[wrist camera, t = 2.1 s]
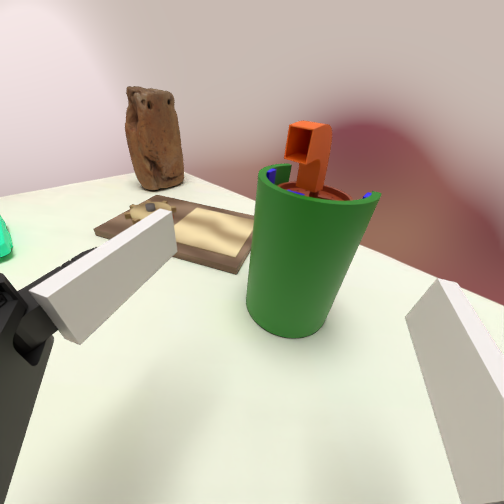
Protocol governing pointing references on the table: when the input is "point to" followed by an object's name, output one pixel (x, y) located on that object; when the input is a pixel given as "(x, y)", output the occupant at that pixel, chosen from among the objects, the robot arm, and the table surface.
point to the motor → (302, 237)
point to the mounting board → (195, 231)
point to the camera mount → (4, 239)
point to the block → (154, 138)
